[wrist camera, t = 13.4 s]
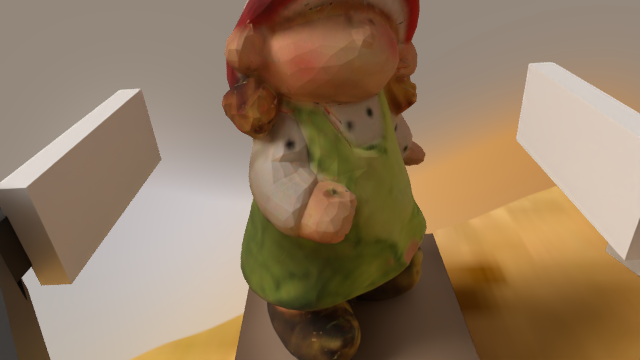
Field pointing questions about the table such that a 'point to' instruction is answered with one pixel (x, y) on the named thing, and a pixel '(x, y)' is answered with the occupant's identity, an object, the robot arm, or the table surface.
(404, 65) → the figurine
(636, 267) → the grey cube
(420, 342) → the pedestal
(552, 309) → the table surface
